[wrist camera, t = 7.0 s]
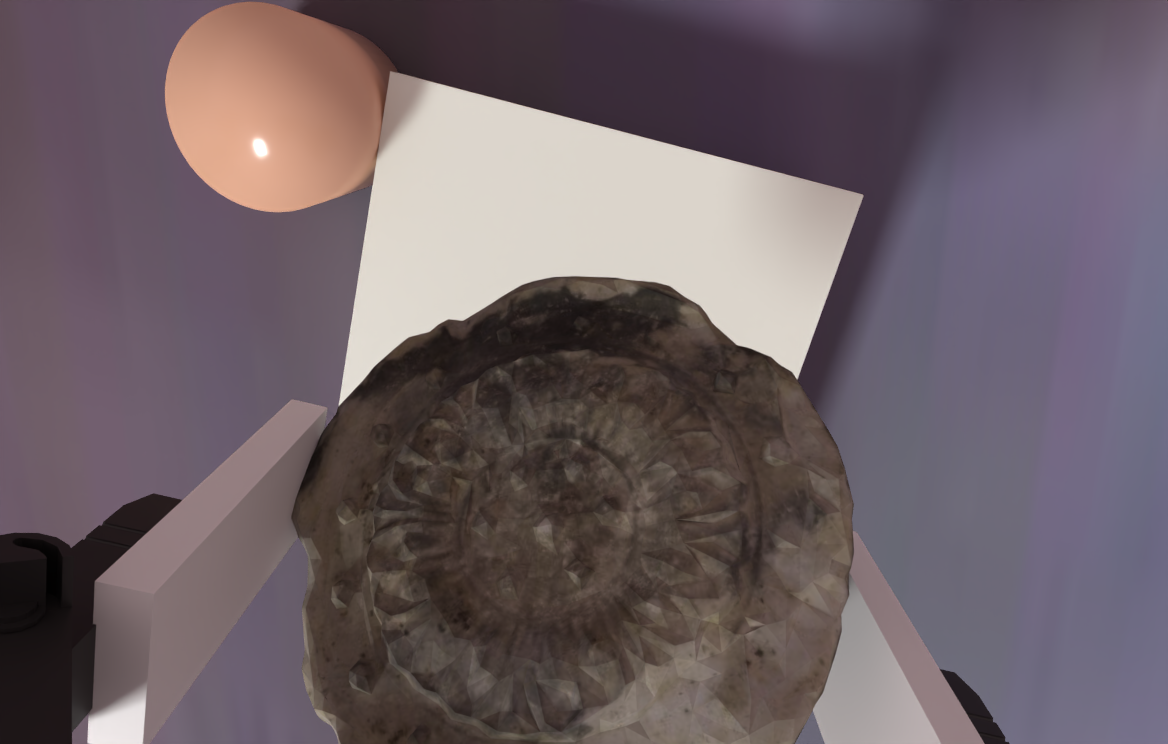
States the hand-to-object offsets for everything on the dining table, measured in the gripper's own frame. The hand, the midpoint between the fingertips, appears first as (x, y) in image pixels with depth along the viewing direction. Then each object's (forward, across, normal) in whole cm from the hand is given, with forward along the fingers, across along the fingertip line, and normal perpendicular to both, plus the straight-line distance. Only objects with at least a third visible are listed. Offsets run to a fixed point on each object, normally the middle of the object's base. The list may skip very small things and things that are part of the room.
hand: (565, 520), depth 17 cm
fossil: (+2, 0, 0) cm, 2 cm away
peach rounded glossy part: (+15, -11, +6) cm, 20 cm away
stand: (+15, 0, 0) cm, 15 cm away
